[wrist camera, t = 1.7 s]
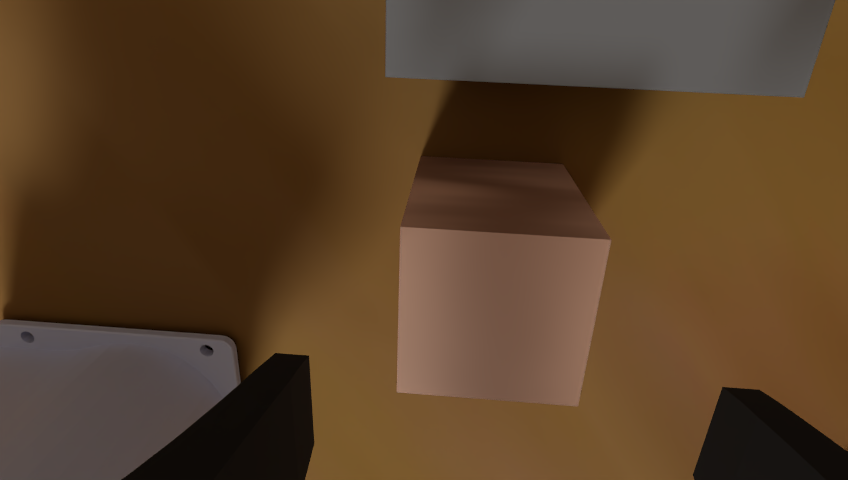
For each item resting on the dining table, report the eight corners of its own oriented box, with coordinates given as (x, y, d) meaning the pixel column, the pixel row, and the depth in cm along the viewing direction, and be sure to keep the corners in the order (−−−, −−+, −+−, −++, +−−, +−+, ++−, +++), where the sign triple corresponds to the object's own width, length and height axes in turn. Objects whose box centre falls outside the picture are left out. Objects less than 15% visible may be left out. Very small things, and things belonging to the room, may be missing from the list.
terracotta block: (416, 279, 19) (396, 392, 13) (421, 155, 17) (400, 227, 11) (543, 288, 18) (577, 406, 13) (562, 163, 17) (610, 240, 11)
